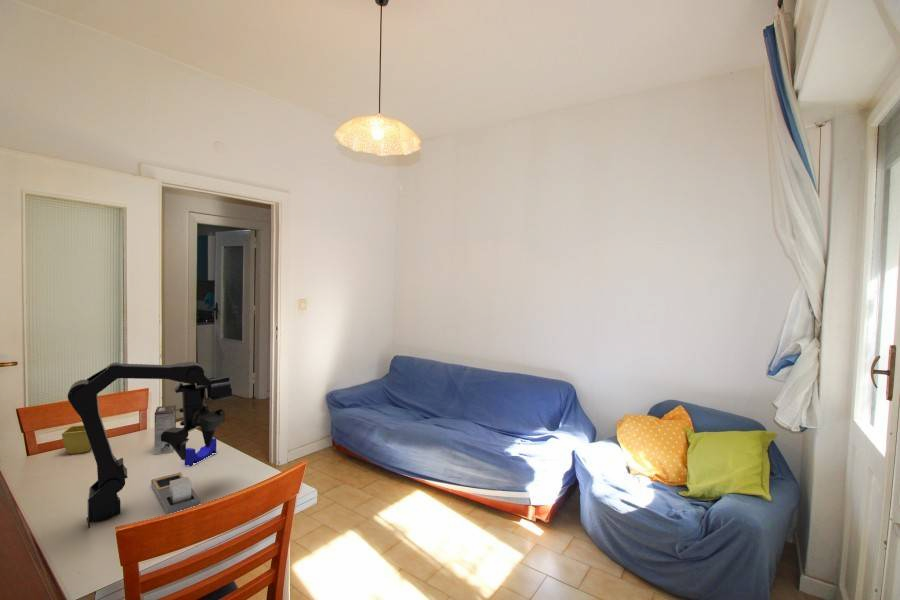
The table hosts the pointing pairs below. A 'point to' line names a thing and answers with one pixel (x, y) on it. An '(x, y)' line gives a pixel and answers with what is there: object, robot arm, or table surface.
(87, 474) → the table surface
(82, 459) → the table surface
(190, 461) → the blue notched block
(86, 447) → the flower pot
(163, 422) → the coffee box
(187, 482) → the light grey block
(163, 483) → the slotted holder
